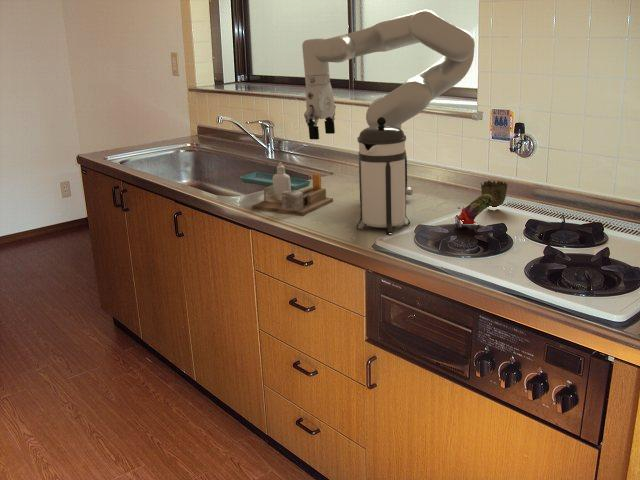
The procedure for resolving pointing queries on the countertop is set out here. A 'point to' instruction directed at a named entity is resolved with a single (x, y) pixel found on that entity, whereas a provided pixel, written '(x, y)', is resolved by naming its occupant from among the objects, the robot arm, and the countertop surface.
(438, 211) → the countertop surface
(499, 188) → the green flared piece
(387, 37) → the robot arm
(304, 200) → the shaft
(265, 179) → the shallow long dish
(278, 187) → the eye dropper bottle
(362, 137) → the coffee press
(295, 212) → the rail board
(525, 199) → the countertop surface
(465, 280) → the countertop surface
